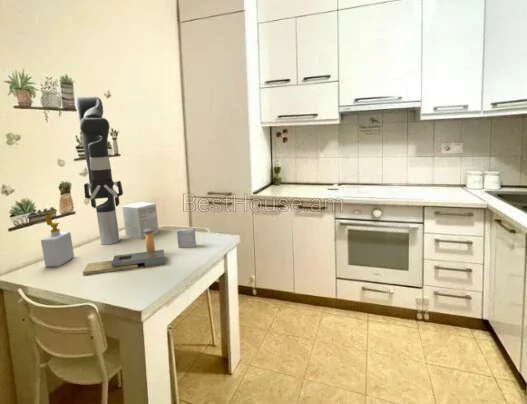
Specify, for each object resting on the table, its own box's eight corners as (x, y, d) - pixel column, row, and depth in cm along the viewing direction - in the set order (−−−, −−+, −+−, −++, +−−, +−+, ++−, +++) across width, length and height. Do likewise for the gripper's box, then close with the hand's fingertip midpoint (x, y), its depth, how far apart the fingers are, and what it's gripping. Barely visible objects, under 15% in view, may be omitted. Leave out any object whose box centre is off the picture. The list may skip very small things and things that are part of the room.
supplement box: (159, 232, 199) (156, 203, 196) (140, 239, 188) (137, 207, 185) (144, 230, 206) (141, 201, 203) (125, 236, 195) (121, 206, 192)
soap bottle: (59, 266, 152) (50, 215, 147) (44, 267, 152) (35, 215, 148) (74, 257, 164) (67, 208, 159) (61, 257, 164) (53, 209, 159)
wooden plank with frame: (83, 275, 141) (82, 267, 140) (88, 266, 150) (87, 259, 150) (164, 264, 149) (163, 256, 148) (164, 256, 159) (163, 249, 158)
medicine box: (196, 245, 174) (195, 228, 172) (193, 248, 169) (192, 231, 168) (181, 245, 174) (179, 228, 173) (178, 248, 170) (176, 231, 168)
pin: (146, 253, 164) (143, 229, 162) (156, 252, 165) (153, 228, 163) (146, 256, 160) (143, 231, 158) (156, 255, 161) (153, 230, 159)
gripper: (120, 166, 146) (125, 203, 150) (83, 168, 143) (89, 206, 146) (117, 167, 139) (122, 207, 142) (79, 170, 136) (85, 210, 139)
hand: (106, 206), depth 144 cm, fingers open, 8 cm apart
